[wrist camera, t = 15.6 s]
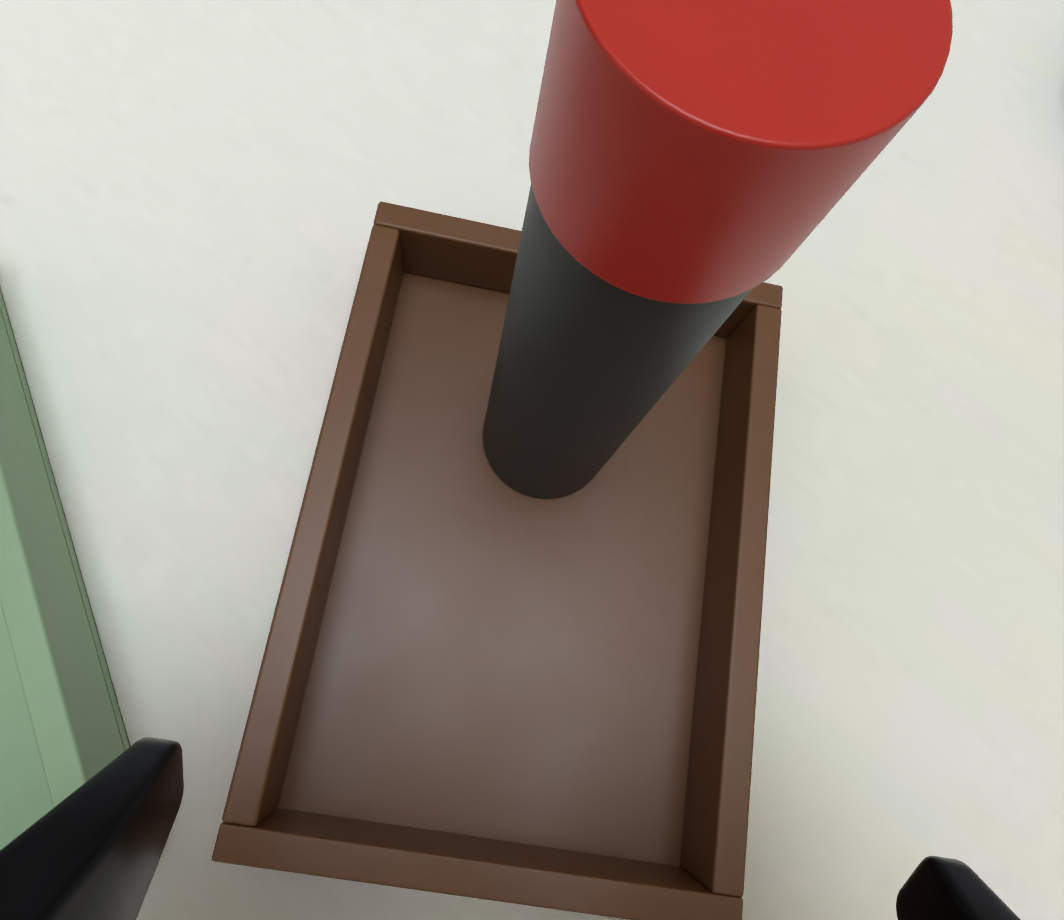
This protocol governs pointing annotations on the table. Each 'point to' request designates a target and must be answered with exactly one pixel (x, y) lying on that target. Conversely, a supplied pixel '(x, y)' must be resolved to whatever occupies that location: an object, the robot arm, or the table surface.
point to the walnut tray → (513, 620)
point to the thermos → (679, 195)
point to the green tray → (43, 628)
